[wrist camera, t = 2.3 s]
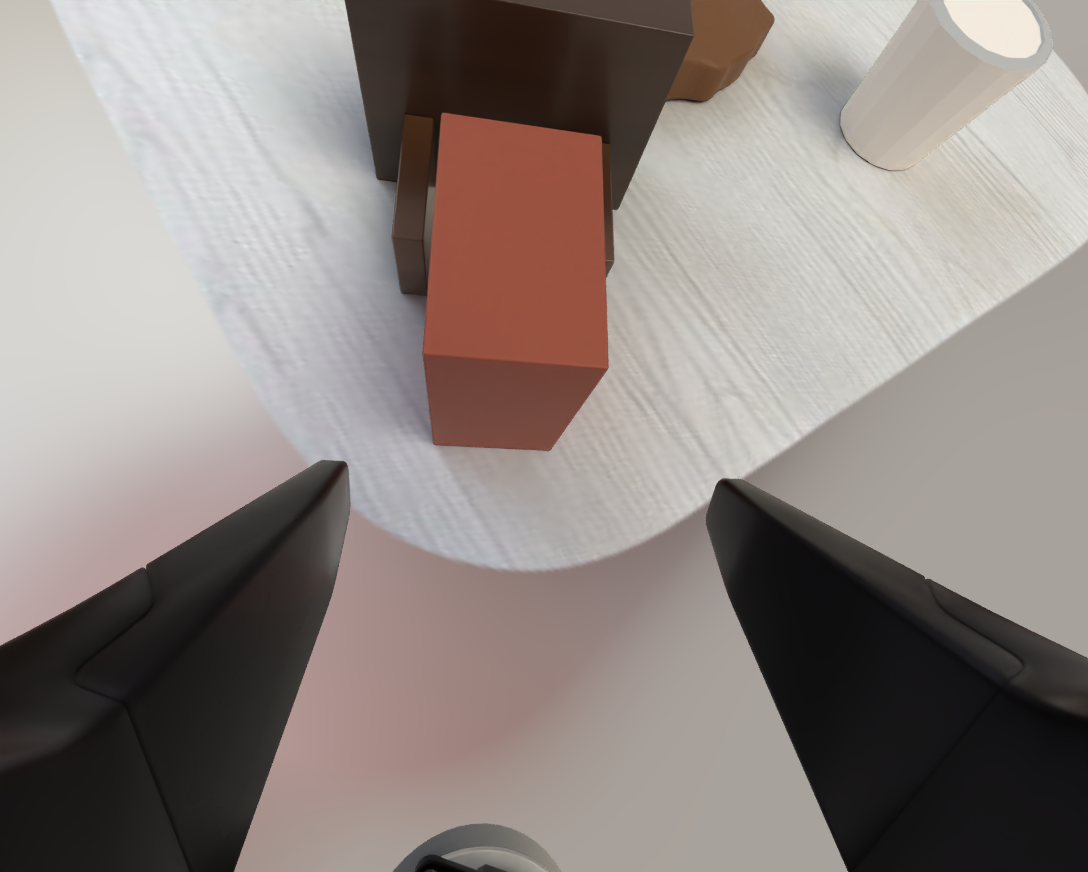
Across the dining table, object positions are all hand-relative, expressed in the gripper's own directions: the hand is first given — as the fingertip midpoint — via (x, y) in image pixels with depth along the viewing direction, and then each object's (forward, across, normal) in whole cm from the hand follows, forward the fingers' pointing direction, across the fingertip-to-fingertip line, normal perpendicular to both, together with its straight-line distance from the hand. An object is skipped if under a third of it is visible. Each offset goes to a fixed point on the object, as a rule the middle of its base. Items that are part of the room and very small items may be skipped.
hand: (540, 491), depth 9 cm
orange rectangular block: (+15, 0, +3) cm, 15 cm away
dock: (+20, 0, -3) cm, 20 cm away
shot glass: (+27, -23, -9) cm, 36 cm away
